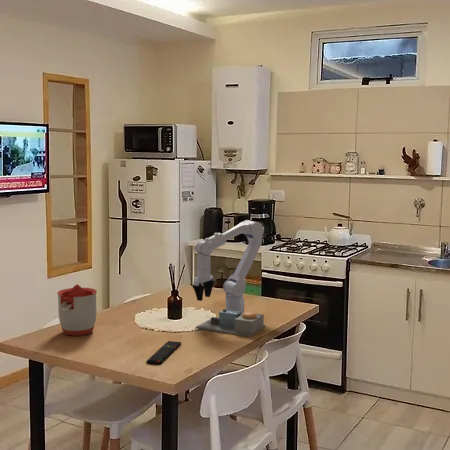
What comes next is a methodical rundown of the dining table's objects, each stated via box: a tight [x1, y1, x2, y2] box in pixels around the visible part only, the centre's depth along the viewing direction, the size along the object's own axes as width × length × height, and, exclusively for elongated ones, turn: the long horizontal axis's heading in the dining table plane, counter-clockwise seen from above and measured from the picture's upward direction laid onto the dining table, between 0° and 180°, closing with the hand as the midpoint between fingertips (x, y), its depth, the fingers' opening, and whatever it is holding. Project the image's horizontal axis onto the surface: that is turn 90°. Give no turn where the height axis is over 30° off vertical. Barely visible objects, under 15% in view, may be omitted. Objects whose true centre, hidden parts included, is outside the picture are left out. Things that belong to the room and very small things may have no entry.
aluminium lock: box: [218, 308, 241, 328], centre depth 263 cm, size 5×8×7 cm, turn 65°
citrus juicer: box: [57, 284, 98, 337], centre depth 253 cm, size 16×17×20 cm
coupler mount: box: [195, 311, 266, 338], centre depth 263 cm, size 16×25×7 cm, turn 64°
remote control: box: [145, 340, 182, 366], centre depth 230 cm, size 5×24×1 cm, turn 166°
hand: (203, 298), depth 274 cm, fingers open, 7 cm apart
